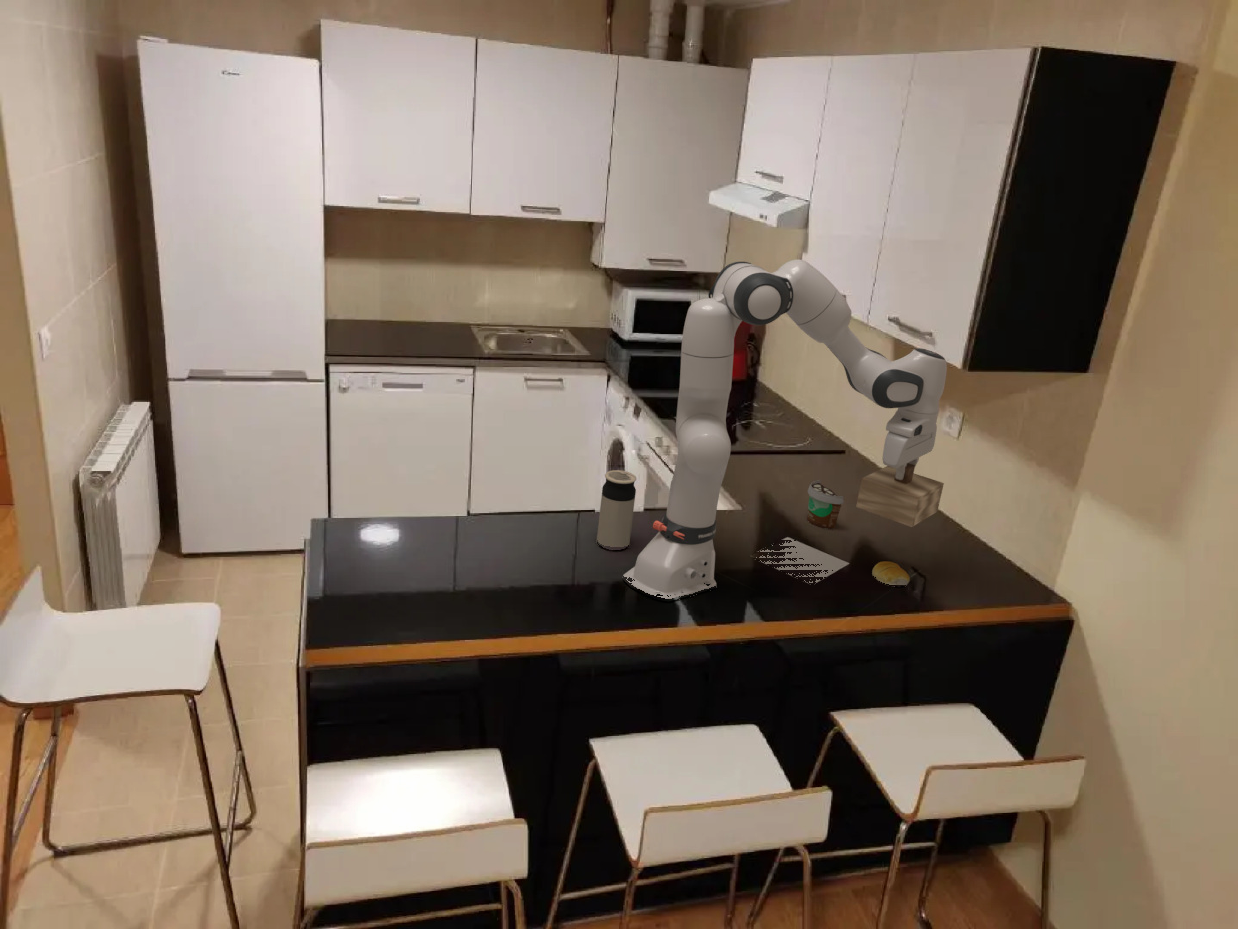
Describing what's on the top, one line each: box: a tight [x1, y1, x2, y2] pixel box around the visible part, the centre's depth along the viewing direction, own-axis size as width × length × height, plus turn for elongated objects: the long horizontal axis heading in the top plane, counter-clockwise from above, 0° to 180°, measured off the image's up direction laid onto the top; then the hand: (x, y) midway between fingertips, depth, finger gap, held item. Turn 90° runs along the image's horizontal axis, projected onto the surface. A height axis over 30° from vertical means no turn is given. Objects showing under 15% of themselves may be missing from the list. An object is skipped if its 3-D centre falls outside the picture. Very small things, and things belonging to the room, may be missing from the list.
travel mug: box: [596, 469, 637, 547], centre depth 221 cm, size 8×8×18 cm
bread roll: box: [871, 560, 911, 586], centre depth 222 cm, size 8×9×4 cm
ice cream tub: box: [806, 479, 844, 530], centre depth 248 cm, size 12×6×10 cm, turn 21°
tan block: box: [855, 463, 945, 528], centre depth 215 cm, size 14×14×11 cm
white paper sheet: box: [756, 536, 850, 584], centre depth 226 cm, size 18×18×1 cm
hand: (904, 476), depth 214 cm, fingers closed on tan block, 3 cm apart
